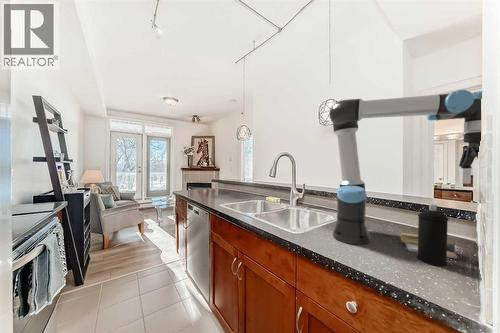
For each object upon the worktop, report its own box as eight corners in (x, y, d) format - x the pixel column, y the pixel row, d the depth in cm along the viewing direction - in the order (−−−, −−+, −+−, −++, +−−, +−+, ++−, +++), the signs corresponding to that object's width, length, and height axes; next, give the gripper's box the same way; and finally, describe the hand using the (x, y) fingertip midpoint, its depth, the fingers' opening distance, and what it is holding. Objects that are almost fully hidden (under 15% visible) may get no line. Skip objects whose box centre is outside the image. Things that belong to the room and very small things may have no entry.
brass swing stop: (402, 242, 87) (402, 233, 87) (400, 239, 91) (400, 230, 91) (434, 246, 82) (434, 237, 82) (431, 243, 86) (431, 234, 86)
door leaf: (432, 254, 79) (432, 245, 78) (421, 241, 92) (421, 233, 92) (459, 259, 75) (460, 249, 75) (444, 244, 88) (444, 236, 88)
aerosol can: (454, 267, 69) (455, 207, 68) (426, 265, 70) (427, 206, 70) (436, 256, 77) (437, 202, 77) (411, 254, 79) (412, 202, 78)
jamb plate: (409, 250, 82) (409, 248, 82) (401, 238, 95) (401, 236, 95) (432, 254, 79) (432, 252, 78) (421, 241, 92) (421, 238, 92)
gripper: (513, 127, 70) (509, 189, 71) (472, 135, 93) (470, 182, 94) (482, 128, 73) (479, 188, 74) (450, 136, 96) (448, 181, 97)
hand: (474, 185), depth 84 cm, fingers open, 13 cm apart
